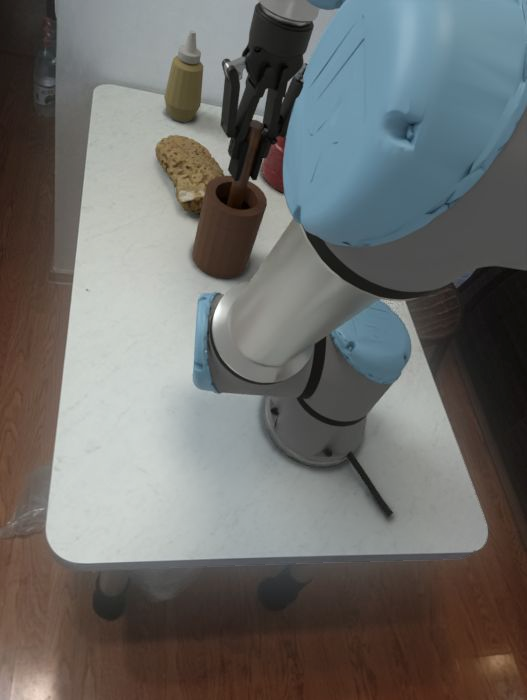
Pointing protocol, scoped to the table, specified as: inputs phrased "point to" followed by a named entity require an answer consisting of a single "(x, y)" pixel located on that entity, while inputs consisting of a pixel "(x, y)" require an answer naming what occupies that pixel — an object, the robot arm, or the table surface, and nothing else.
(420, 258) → the robot arm
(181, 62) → the squeeze bottle
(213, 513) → the table surface
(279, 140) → the kitchen canister
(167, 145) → the sponge
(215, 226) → the jar
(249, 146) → the brush
